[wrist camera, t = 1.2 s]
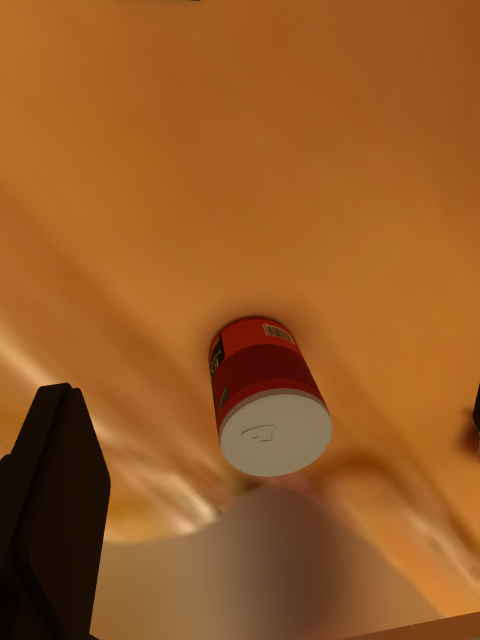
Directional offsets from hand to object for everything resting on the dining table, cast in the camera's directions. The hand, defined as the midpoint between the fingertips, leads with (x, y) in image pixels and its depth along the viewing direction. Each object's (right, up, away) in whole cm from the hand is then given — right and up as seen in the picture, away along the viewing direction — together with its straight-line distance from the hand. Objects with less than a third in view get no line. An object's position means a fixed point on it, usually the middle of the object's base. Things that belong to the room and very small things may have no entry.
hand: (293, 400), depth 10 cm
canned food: (0, -1, +30) cm, 30 cm away
